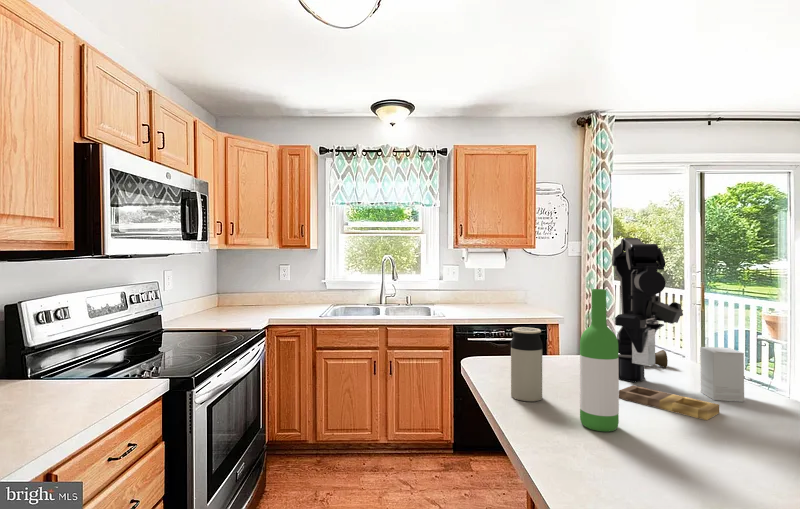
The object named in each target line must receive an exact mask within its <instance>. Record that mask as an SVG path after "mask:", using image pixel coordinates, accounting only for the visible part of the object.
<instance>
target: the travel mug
mask: <svg viewBox="0 0 800 509" xmlns="http://www.w3.org/2000/svg"><path fill="white" fill-rule="evenodd" d="M511 331H512V332H513V336H512V338H511V339H510V396H511V397H512V398H513V399H515V400H517V401H521V402H525V403H533V402H538V401H540V400H542V399H543V341H542V340H541V336H540V335H541V333H542V330H541V329H540V328H535V327H525V326H521V327H520V326H518V327H513V328H512V329H511Z"/></svg>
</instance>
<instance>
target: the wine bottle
mask: <svg viewBox="0 0 800 509" xmlns="http://www.w3.org/2000/svg"><path fill="white" fill-rule="evenodd" d="M590 297H591V301H590V302H591V303H590V304H591V305H590V306H591V312H590V313H591V316H590V318H591V320H590V322H591V324H590V325H589V326H588V327H587V328H586V329H585V330H583V332H582V334H581V336H580V340H579V420H580V423H581V424H582V426H583V427H585V428H587V429H590V430H593V431H596V432H597V431H598V432H606V433H608V432H609V433H610V432H613V431H616V430H617V428H618V427H619V422H620V420H619V417H620V415H619V413H620V412H619V410H620V404H619V402H620V401H619V400H620V398H619V390H620V389H619V380H620V379H619V359H618V354H619V353H618V340H617V335H616V334H615V333H614V331H613V330H612V329H611V328H609V327H608V325H607V290H606V289H603V288H592V289H591V296H590Z"/></svg>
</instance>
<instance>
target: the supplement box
mask: <svg viewBox="0 0 800 509" xmlns="http://www.w3.org/2000/svg"><path fill="white" fill-rule="evenodd" d="M699 349H700V353H699V354H700V355H699V356H700V363H699V364H700V393H701V394H703V395H705V396H706V397H708V398H710V399H711V400H713V401H724V402H725V401H726V402H738V403H739V402H740V403H741V402H742V403H743V402H745V358H744V357H745V355H744V354H745V353H744V352H741V351H738V350H736V349H734V348H731V347H719V346H718V347H716V346H714V347H713V346H708V347H707V346H700V348H699Z"/></svg>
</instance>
